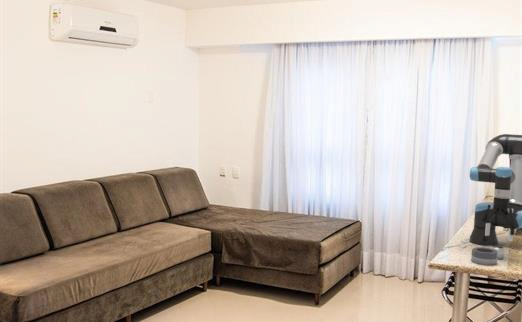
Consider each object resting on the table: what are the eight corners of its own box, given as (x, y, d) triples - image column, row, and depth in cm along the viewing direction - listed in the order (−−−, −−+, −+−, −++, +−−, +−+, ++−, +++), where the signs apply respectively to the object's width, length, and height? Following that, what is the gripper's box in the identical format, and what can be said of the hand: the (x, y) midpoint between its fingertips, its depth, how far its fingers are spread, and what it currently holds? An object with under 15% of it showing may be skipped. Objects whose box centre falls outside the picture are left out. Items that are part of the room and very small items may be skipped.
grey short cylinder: (481, 257, 301) (482, 246, 300) (501, 263, 291) (502, 251, 290) (466, 260, 294) (466, 248, 294) (486, 266, 284) (487, 254, 284)
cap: (495, 256, 305) (496, 244, 304) (505, 259, 300) (506, 246, 299) (488, 257, 302) (489, 245, 301) (498, 260, 297) (499, 248, 296)
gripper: (476, 194, 306) (473, 233, 308) (519, 201, 285) (515, 244, 287) (485, 193, 310) (482, 232, 312) (528, 200, 289) (524, 242, 291)
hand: (498, 238), depth 299 cm, fingers open, 13 cm apart
